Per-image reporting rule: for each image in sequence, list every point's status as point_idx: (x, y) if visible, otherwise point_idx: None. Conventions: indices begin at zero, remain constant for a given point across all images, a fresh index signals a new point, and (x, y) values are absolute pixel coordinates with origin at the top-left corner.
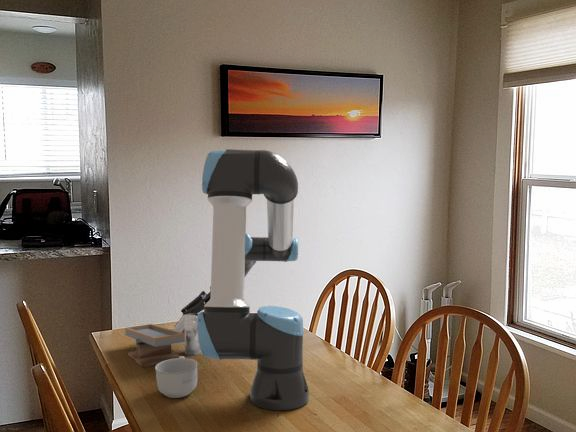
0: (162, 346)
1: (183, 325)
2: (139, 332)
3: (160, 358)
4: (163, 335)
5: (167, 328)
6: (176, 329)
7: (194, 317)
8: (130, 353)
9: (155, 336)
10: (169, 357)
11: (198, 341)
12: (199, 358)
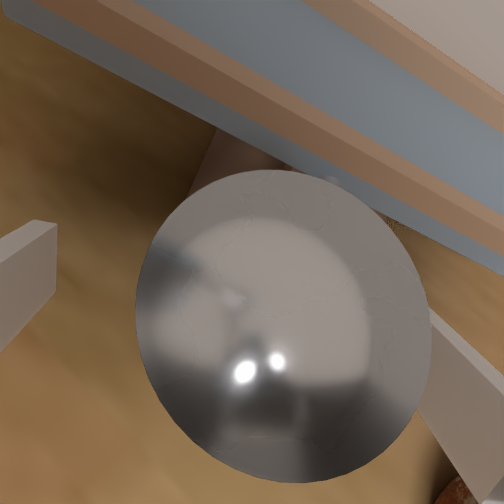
0: (287, 165)
1: (430, 393)
2: (394, 22)
3: (234, 148)
4: (266, 64)
5: (355, 146)
6: None
7: (166, 220)
8: None
9: (289, 36)
10: (212, 178)
11: (30, 222)
12: (98, 306)
